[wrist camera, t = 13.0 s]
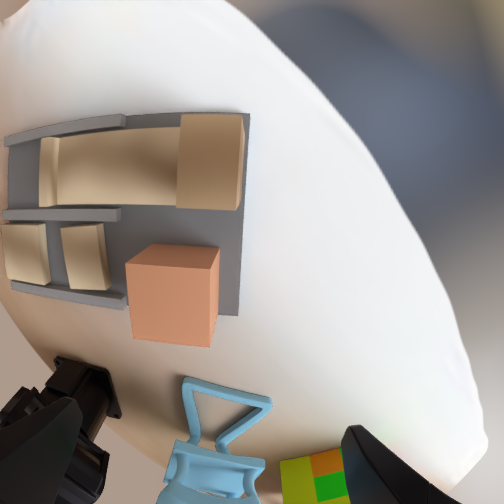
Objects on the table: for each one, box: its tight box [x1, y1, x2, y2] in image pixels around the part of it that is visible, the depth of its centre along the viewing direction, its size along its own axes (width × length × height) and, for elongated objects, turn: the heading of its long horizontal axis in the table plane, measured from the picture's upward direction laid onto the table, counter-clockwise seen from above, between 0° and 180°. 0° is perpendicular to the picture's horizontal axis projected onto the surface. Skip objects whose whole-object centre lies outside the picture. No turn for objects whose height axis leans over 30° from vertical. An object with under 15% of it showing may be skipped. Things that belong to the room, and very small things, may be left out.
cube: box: [125, 244, 220, 347], centre depth 16 cm, size 4×4×4 cm
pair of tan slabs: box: [1, 223, 112, 290], centre depth 17 cm, size 5×11×1 cm, turn 86°
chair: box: [156, 377, 272, 504], centre depth 17 cm, size 8×8×12 cm
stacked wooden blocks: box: [39, 114, 245, 211], centre depth 13 cm, size 5×13×6 cm, turn 86°
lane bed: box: [2, 112, 250, 316], centre depth 17 cm, size 13×20×2 cm, turn 86°
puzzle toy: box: [280, 447, 350, 504], centre depth 21 cm, size 10×10×10 cm
